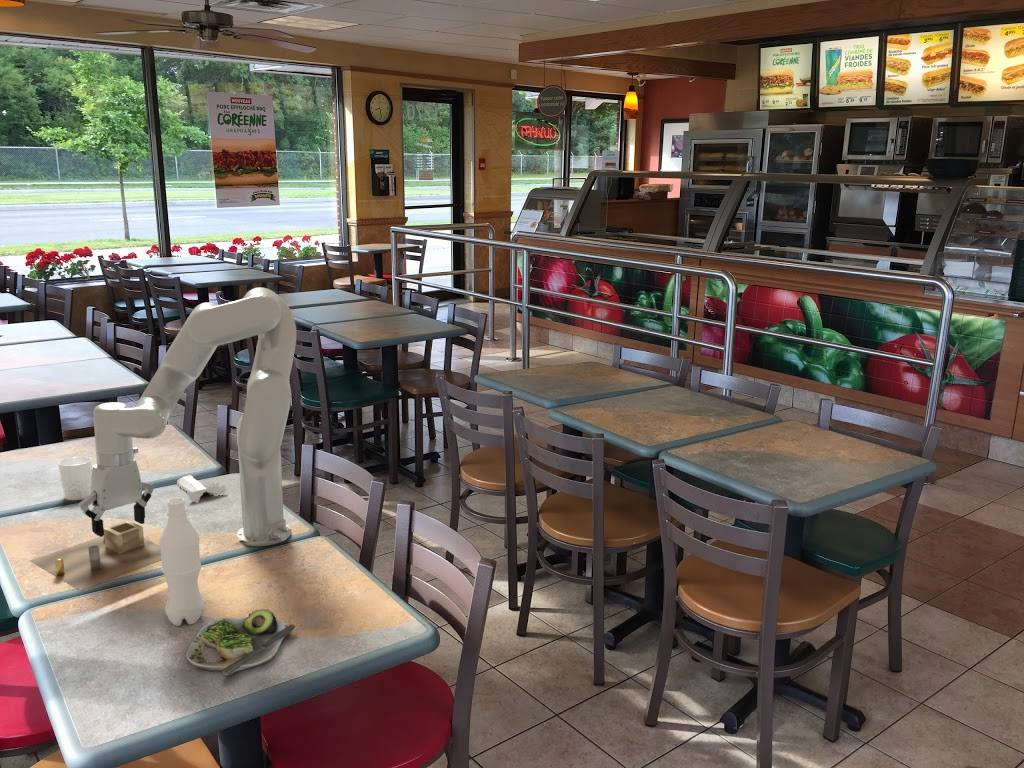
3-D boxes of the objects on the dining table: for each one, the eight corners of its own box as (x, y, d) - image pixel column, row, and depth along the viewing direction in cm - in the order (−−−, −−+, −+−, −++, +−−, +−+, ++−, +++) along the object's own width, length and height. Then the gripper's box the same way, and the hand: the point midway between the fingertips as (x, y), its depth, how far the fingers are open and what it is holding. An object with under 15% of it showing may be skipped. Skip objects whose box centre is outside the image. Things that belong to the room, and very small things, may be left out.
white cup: (65, 492, 227) (61, 457, 225) (97, 489, 230) (93, 454, 227) (59, 502, 220) (55, 466, 218) (92, 499, 222) (88, 464, 220)
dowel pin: (66, 574, 179) (64, 559, 179) (58, 576, 178) (56, 561, 177) (62, 572, 180) (60, 557, 179) (54, 574, 179) (53, 559, 178)
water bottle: (164, 631, 161) (153, 509, 154) (168, 612, 167) (158, 495, 161) (203, 626, 162) (194, 506, 156) (206, 608, 169) (197, 492, 163)
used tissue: (188, 506, 220) (187, 492, 219) (176, 484, 235) (175, 471, 234) (229, 499, 226) (229, 485, 225) (215, 478, 241) (214, 465, 240)
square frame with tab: (144, 544, 194) (142, 526, 193) (119, 553, 189) (117, 535, 188) (120, 533, 200) (118, 515, 199) (95, 541, 195) (93, 523, 194)
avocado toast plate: (271, 684, 145) (270, 661, 144) (169, 682, 145) (166, 658, 144) (300, 626, 164) (299, 604, 163) (209, 623, 164) (207, 602, 163)
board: (177, 558, 190) (175, 533, 189) (80, 595, 173) (77, 568, 171) (125, 533, 203) (122, 509, 201) (30, 565, 185) (26, 539, 184)
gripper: (142, 445, 197) (145, 513, 201) (67, 462, 183) (73, 535, 187) (160, 452, 193) (163, 522, 197) (85, 470, 179) (90, 545, 183)
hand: (119, 528), depth 192 cm, fingers open, 9 cm apart
